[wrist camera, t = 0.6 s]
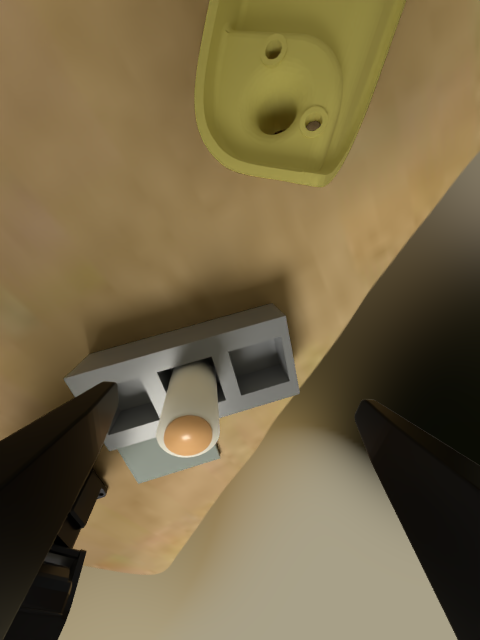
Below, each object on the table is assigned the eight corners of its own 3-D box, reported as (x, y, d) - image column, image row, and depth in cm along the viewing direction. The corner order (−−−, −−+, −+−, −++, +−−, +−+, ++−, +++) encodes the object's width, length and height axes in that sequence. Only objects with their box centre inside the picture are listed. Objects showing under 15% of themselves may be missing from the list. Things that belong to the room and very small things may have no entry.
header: (124, 418, 24) (109, 451, 20) (88, 354, 21) (63, 378, 17) (285, 370, 25) (299, 393, 21) (272, 303, 22) (285, 315, 18)
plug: (181, 390, 22) (168, 468, 15) (167, 356, 21) (144, 423, 13) (220, 379, 23) (227, 450, 15) (208, 344, 21) (209, 404, 13)
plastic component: (276, -325, 10) (552, -411, 8) (287, -68, 17) (432, -76, 15) (176, 160, 14) (339, 192, 12) (218, 204, 21) (325, 229, 19)
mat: (139, 479, 27) (138, 483, 26) (110, 430, 24) (108, 434, 23) (220, 454, 27) (220, 458, 27) (200, 403, 24) (200, 407, 24)
